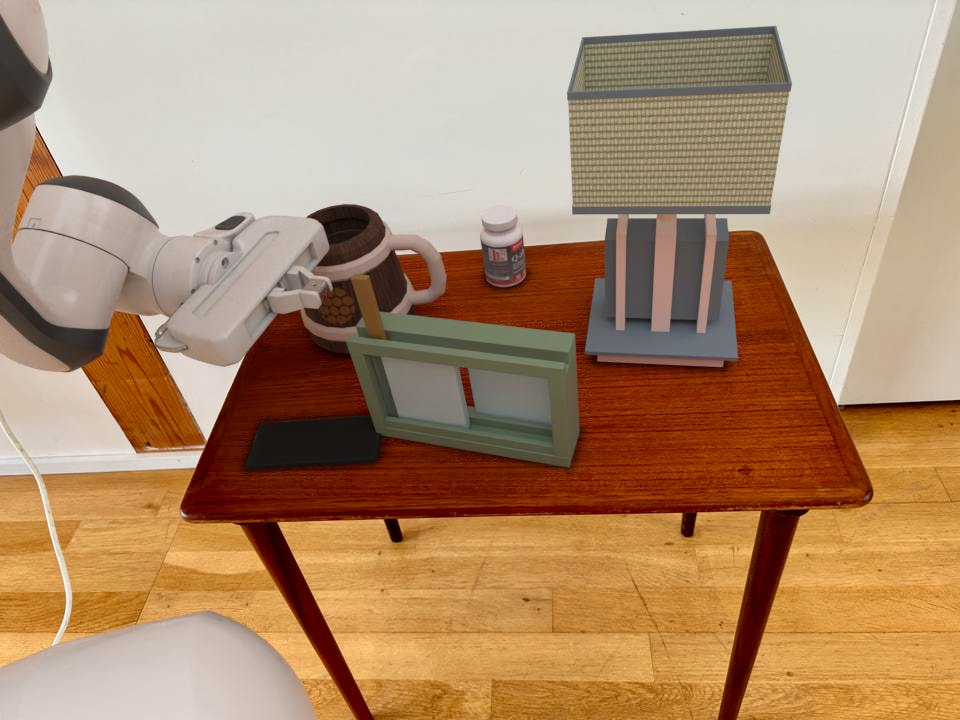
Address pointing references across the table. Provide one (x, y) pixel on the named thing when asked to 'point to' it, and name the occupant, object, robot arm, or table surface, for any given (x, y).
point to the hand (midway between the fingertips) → (325, 293)
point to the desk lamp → (673, 180)
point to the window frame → (483, 385)
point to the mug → (365, 273)
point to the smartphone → (315, 443)
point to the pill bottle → (502, 246)
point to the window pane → (412, 375)
